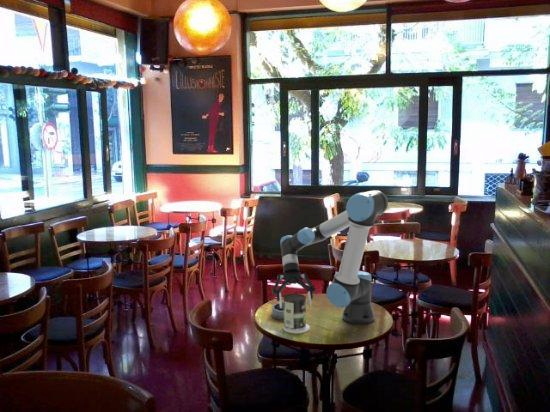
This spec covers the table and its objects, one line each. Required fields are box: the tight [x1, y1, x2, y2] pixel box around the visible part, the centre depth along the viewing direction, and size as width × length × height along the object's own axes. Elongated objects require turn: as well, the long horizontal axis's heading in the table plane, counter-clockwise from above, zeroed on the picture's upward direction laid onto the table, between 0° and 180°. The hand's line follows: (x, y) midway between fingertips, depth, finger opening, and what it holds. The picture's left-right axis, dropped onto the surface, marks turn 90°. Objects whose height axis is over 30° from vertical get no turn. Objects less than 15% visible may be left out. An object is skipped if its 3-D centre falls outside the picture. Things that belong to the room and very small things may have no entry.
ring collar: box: [271, 301, 284, 321], centre depth 261 cm, size 14×14×4 cm
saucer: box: [283, 323, 311, 335], centre depth 243 cm, size 12×12×1 cm
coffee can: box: [282, 293, 307, 330], centre depth 242 cm, size 10×10×14 cm
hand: (295, 306), depth 241 cm, fingers open, 13 cm apart
